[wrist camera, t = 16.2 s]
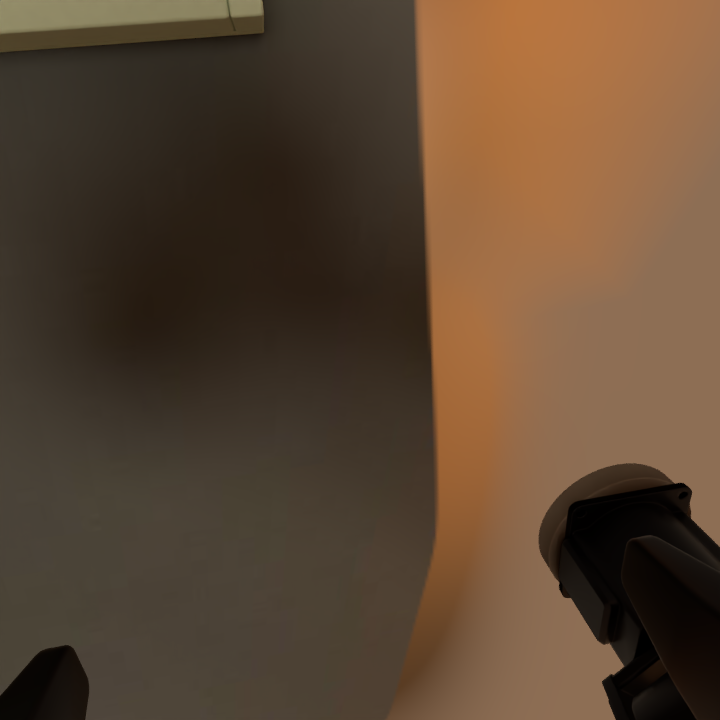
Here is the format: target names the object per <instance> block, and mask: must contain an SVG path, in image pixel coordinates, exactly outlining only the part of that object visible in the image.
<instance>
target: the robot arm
mask: <svg viewBox="0 0 720 720" xmlns="http://www.w3.org/2000/svg"><path fill="white" fill-rule="evenodd" d="M691 495H692V491H691V489H690V488H689V487H688V486H687V485H685V484H684V483H676V484H669V485H664V486H658V487H653V488H647V489H641V490H636V491H630V492H624V493H619V494H613V495H608V496H602V497H596V498H591V499H585V500H579V501H576V502H574V503H572V504H571V505H570V507H569V509H568V515H567V523H566V531H565V540H564V542H563V544H562V550H561V559H560V567H559V579H560V581H559V590H560V592H561V593H562V595H563V596H564V597H565V598H572V600H573V602H574V603H575V605H576V607H577V608H578V610H579V611H580V613H581V615H582V616H583V618H584V620H585V621H586V623H587V624H588V626H589V628H590V629H591V631H592V632H593V634H594V636H595V637H596V639H597V640H598V641H599V642H601V643H602V644H604V645H605V644H609V643H610V645H611V646H612V648H613V649H614V651H615V652H616V654H617V655H618V657H619V659H620V660H621V662H622V663H623V665H624V666H625V667H623V668H622V669H621V670H620V671H618V672H617V673H616V674H615V675H612V674H611V675H609V676H608V677H607V678H606V679H604V680H603V681H602V684H603V686H604V689H605V691H606V693H607V696H608V699H609V704H610V707H611V709H612V712H613V714H614V716H615V719H616V720H720V547H719V546H718V545H717V544H716V543H715V542H714V541H713V540H712V539H711V538H710V537H709V536H708V535H707V534H706V533H705V532H704V531H703V530H702V529H701V528H699V526H697V524H696V523H695V522H694V521H693V520H692V519H691V518H690V517H689V516H688V515H687V512H688V508H689V504H690V499H691ZM88 697H89V682H88V678H87V675H86V673H85V671H84V669H83V667H82V665H81V663H80V661H79V659H78V656H77V654H76V652H75V650H74V649H73V648H72V647H71V646H69V645H64V646H59V647H54V648H48V649H45V650H42V651H41V652H39V653H38V654H37V655H36V656H35V657H34V658H33V659H32V660H31V661H30V663H29V664H28V665H27V666H26V667H25V668H24V669H23V671H22V672H21V673H20V674H19V675H18V676H17V677H16V678H15V680H14V681H13V682H12V683H11V684H10V685H9V686H8V688H7V689H6V690H5V691H4V692H3V693H2V694H1V696H0V720H85V717H86V710H87V704H88Z"/></svg>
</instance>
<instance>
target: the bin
mask: <svg viewBox="0 0 720 720" xmlns="http://www.w3.org/2000/svg"><path fill="white" fill-rule="evenodd" d="M259 33H264V9H263V2H262V0H0V52H13V51H26V50H40V49H54V48H67V47H81V46H95V45H108V44H122V43H136V42H149V41H163V40H177V39H190V38H204V37H218V36H231V35H245V34H259Z"/></svg>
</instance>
